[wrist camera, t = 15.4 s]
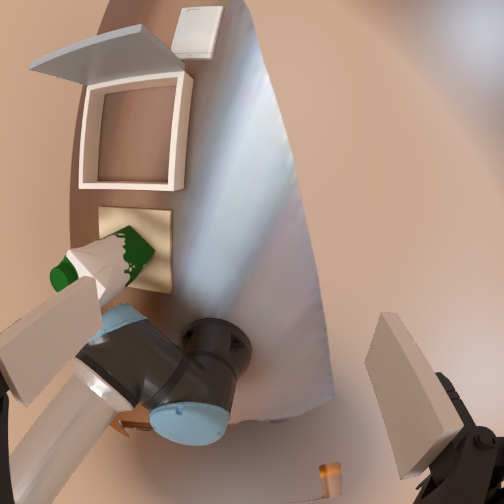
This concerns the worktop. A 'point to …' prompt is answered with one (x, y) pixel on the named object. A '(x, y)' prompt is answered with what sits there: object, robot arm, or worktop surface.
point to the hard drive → (197, 32)
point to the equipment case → (117, 80)
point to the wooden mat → (154, 233)
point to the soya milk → (105, 263)
